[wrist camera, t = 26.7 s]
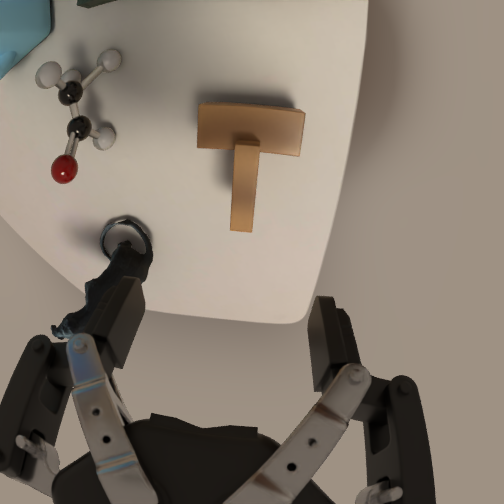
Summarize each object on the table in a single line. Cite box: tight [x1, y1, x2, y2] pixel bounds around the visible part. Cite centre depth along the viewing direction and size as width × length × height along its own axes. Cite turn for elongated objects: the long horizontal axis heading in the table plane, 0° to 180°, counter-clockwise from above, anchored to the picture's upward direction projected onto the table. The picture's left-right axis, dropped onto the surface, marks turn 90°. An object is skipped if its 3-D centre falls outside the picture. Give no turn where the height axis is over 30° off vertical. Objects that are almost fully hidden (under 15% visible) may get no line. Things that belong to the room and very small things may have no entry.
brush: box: [197, 102, 305, 232], centre depth 25 cm, size 11×9×7 cm
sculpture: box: [51, 219, 153, 340], centre depth 29 cm, size 8×11×15 cm
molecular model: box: [35, 50, 121, 184], centre depth 20 cm, size 8×12×11 cm
